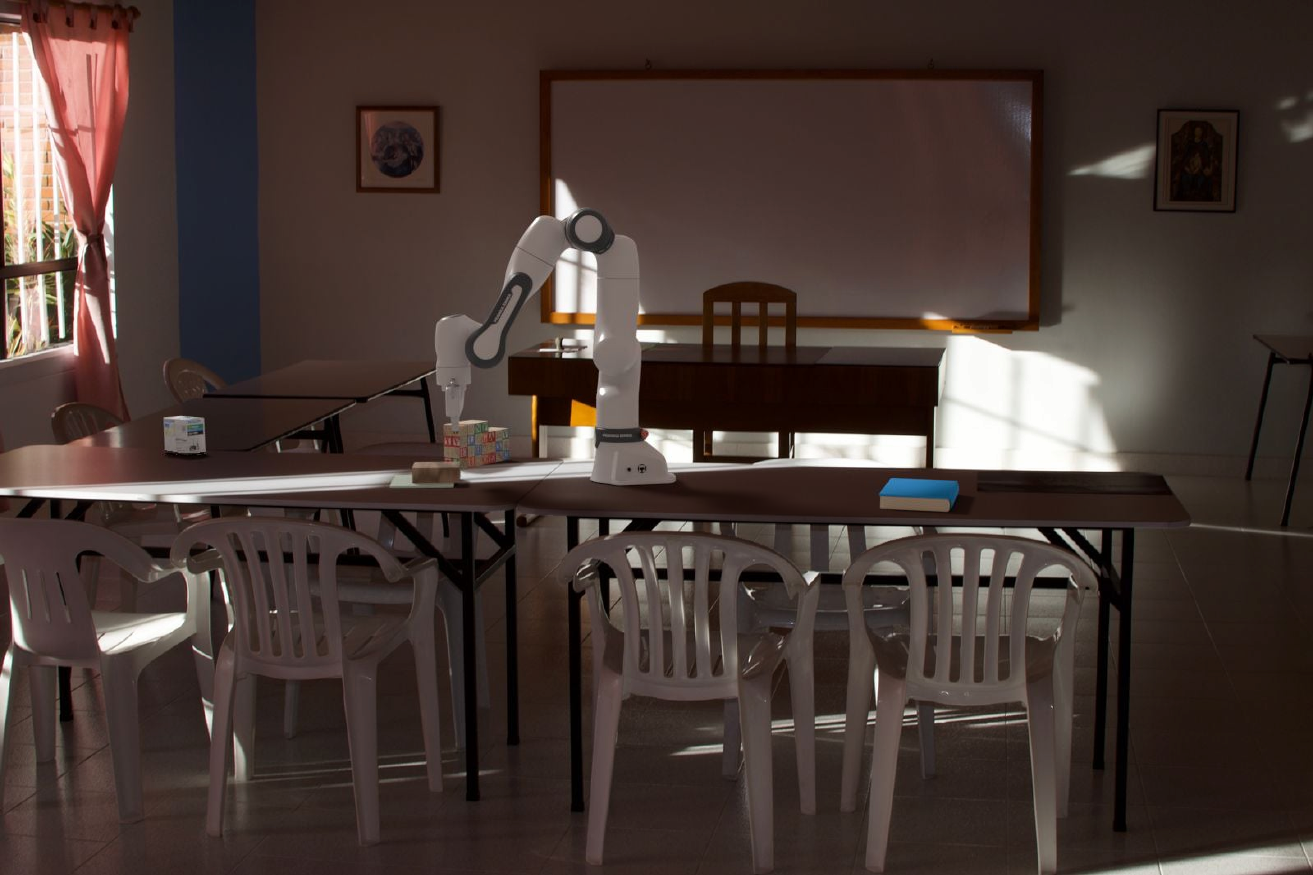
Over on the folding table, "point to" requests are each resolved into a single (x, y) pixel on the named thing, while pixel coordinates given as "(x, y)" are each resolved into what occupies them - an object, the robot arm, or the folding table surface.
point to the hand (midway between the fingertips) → (455, 430)
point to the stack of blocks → (475, 443)
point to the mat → (406, 482)
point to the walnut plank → (436, 472)
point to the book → (919, 494)
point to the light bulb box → (184, 434)
